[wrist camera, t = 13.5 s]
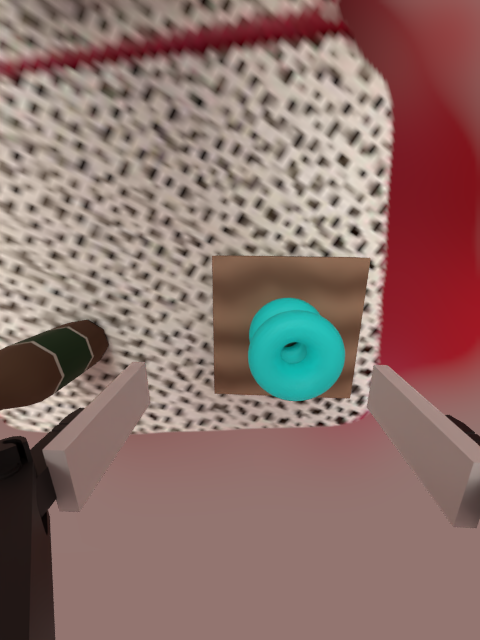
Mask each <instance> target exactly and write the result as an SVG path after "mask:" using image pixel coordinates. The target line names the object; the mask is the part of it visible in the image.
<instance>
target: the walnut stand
mask: <svg viewBox="0 0 480 640" xmlns="http://www.w3.org/2000/svg"><path fill="white" fill-rule="evenodd" d="M369 265H370V258H358V257H294V256H218V255H217V256H212V272H213V330H214V388H215V394H242V395H270V396H273V395H271V394H269V393H267V392H266V391H265V390H264V389H262V388H261V387H260V386H259V384H258V383H257V382H256V380H255V379H254V377H253V375H252V373H251V371H250V368H249V363H248V350H249V345H250V341H249V329H250V325H251V322H252V320H253V318H254V316H255V314H256V313H257V312H258V311H259V310H260V309H261V308H262V307H263V306H264V305H266V304H267V303H269V302H271V301H273V300H276V299H280V298H296V299H300V300H303V301H305V302H307V303H309V304H310V305H312V306H313V307H314V308H315V309H316V310H317V311H318V312H319V314H320V315H321V316H322V317H324V318H325V319H327V320H328V321H329V322H330V323H331V324H332V325H333V326H334V327H335V328H336V329H337V331H338V332H339V334H340V336H341V338H342V340H343V344H344V348H345V362H344V366H343V370H342V372H341V374H340V376H339V378H338V379H337V381H336V382H335V383H334V384H333V386H332V387H331V388H329V389H328V390H327V391H326V392H324V393H323V394H321V395H319V396H317V397H325V398H350V395H351V388H352V381H353V374H354V368H355V361H356V354H357V347H358V340H359V333H360V327H361V320H362V313H363V306H364V299H365V292H366V286H367V279H368V272H369ZM294 344H296V342H292V343H289V344H287V345H286V346H284V347H290V346H293V345H294Z"/></svg>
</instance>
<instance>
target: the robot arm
mask: <svg viewBox="0 0 480 640" xmlns="http://www.w3.org/2000/svg"><path fill="white" fill-rule="evenodd" d="M149 404H150V396H149V388H148V380H147V372H146V364H145V362H132V363H131V364H130V365H129V366H128V367H127V368H126V369H125V370H124V371H123V372H122V373H121V374H120V375H119V376H118V377H117V378H116V379H115V380H114V381H112V382H111V383H110V384H109V385H108V386H107V387H106V388H105V389H104V390H103V391H102V392H101V393H100V394H99V395H98V396H97V397H96V398H95V399H94V400H93V401H92V402H91V403H90V404H89V405H88V406H87V407H86V408H79V409H77V410H76V411H74V412H72V413H71V414H69V415H68V416H66V417H65V418H64V419H63V420H62V421H61V422H60V423H59V425H57V426H56V427H55V428H53V429H52V431H51V432H49V433H48V434H47V435H46V436H45V437H44V438H43V439H41V440H40V441H39V442H38V443H37V444H36V445H35V446H34V447H33V448H32V449H31V450H30V449H29V445H28V442H27V440H26V438H24V437H21V436H15V437H9V438H5V439H2V440H0V640H55V624H54V602H53V580H52V557H51V537H50V536H51V534H50V516H49V512H48V509H49V508H50V506H51V505H52V504H53V502H54V501H55V500H56V501H57V504H58V508H59V511H66V512H80V511H81V509H82V508H83V506H84V505H85V503H86V502H87V500H88V499H89V497H90V496H91V494H92V492H93V491H94V489H95V488H96V486H97V485H98V483H99V482H100V480H101V478H102V477H103V475H104V474H105V472H106V471H107V469H108V467H109V466H110V465H111V463H112V461H113V460H114V458H115V457H116V455H117V453H118V452H119V451H120V449H121V448H122V446H123V444H124V443H125V441H126V440H127V438H128V437H129V435H130V434H131V432H132V430H133V429H134V427H135V426H136V424H137V423H138V421H139V420H140V418H141V416H142V415H143V413H144V412H145V410H146V409H147V407H148V406H149ZM367 408H368V409H369V411H370V412H371V414H372V415H373V416H374V418H375V419H376V421H377V422H378V423H379V425H380V426H381V427H382V429H383V430H384V432H385V433H386V434H387V436H388V437H389V438H390V440H391V441H392V443H393V444H394V446H395V447H396V448H397V450H398V451H399V452H400V454H401V455H402V457H403V458H404V459H405V461H406V462H407V464H408V465H409V466H410V468H411V469H412V471H413V472H414V473H415V475H416V476H417V478H418V479H419V480H420V482H421V483H422V484H423V486H424V487H425V489H426V490H427V491H428V493H429V494H430V496H431V497H432V498H433V500H434V501H435V502H436V504H437V505H438V507H439V508H440V509H441V511H442V512H443V514H444V515H445V516H446V518H447V519H448V521H449V522H450V523H451V524H452V526H453V527H466V528H476V527H477V524H478V522H479V519H480V436H478V435H477V434H475V432H474V431H472V430H471V429H470V428H469V427H468V426H466V425H465V424H464V423H462V422H461V421H459V420H457V419H455V418H453V417H452V416H450V415H444V414H443V413H441V412H440V411H439V410H438V409H437V408H436V407H435V406H433V405H432V404H431V403H430V402H429V401H428V400H426V399H425V398H424V397H423V396H422V395H421V394H420V393H418V392H417V391H416V390H415V389H414V388H413V387H412V386H410V385H409V384H408V383H407V382H406V381H405V380H404V379H402V378H401V377H400V376H399V375H398V374H396V373H395V372H394V371H393V370H392V369H391V368H390V367H389V366H387V365H374V366H373V372H372V379H371V385H370V391H369V397H368V404H367Z"/></svg>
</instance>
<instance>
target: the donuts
mask: <svg viewBox="0 0 480 640" xmlns="http://www.w3.org/2000/svg"><path fill="white" fill-rule="evenodd" d="M249 341H250V345H249V350H248V363H249V368H250V371H251V373H252V375H253V377H254V379H255V380H256V382H257V383H258V384H259V386H260V387H261V388H262V389H264V390H265V391H266V392H267V393H269V394H271V395H273V396H275V397H277V398H280V399H283V400H288V401H303V400H308V399H312V398H315V397H317V396H319V395H321V394H323V393H324V392H326V391H327V390H328V389H329V388H331V387H332V386H333V384H334V383H335V382H336V381H337V379H338V378H339V376H340V374H341V372H342V370H343V366H344V362H345V348H344V344H343V340H342V338H341V336H340V334H339V332H338V331H337V329H336V328H335V327H334V326H333V325H332V324H331V323H330V322H329V321H328V320H327V319H325V318H324V317H322V316H321V315H320V314H319V312H318V311H317V310H316V309H315V308H314V307H313V306H312V305H310V304H309V303H307V302H305V301H303V300H300V299H296V298H280V299H276V300H273V301H271V302H269V303H267V304H266V305H264V306H263V307H262V308H261V309H260V310H259V311H258V312H257V313H256V314H255V316H254V318H253V320H252V322H251V325H250V329H249ZM292 342H296V344H294V345H293V346H290V347H284V346H286V345H287V344H289V343H292Z"/></svg>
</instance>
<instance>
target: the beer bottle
mask: <svg viewBox="0 0 480 640" xmlns="http://www.w3.org/2000/svg"><path fill="white" fill-rule="evenodd" d="M107 347H108V342H107V339H106V336H105V333H104V330H103V329H102V328H100V327H98V326H97V325H95V324H94V323H92V322H90V321H89V320H82V321H76V322H71V323H67V324H64V325H61V326H59V327H56V328H53V329H51V330H48V331H46V332H43V333H41V334H38V335H35V336H33V337H30V338H28V339H25V340H23V341H20V342H18V343H15V344H12V345H10V346H8V347H5V348H3V349H1V350H0V410H3V409H10V408H17V407H23V406H28V405H32V404H35V403H38V402H41V401H43V400H44V399H46V398H48V397H49V396H51V395H53V394H54V393H56V392H57V391H58V390H60V389H61V388H63V387H64V386H65V385H67V384H68V383H69V382H71V381H72V380H74V379H75V378H76V377H78V376H79V375H81V374H82V373H83V372H85V371H86V370H88V369H89V368H90V367H92V366H93V365H94V364H96V363H97V362H98V361H99V360H100V359H101V358H102V356H103V354H104V353H105V351H106V349H107Z"/></svg>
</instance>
